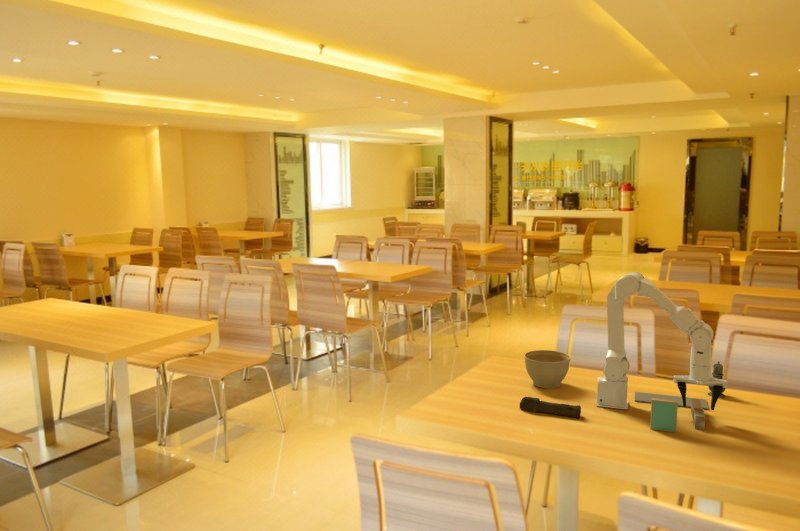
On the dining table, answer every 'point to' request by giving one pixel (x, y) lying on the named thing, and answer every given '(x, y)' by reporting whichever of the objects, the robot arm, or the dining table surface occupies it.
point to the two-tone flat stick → (697, 414)
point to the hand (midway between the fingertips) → (698, 407)
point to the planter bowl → (547, 367)
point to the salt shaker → (717, 377)
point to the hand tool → (549, 407)
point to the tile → (663, 415)
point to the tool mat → (648, 397)
